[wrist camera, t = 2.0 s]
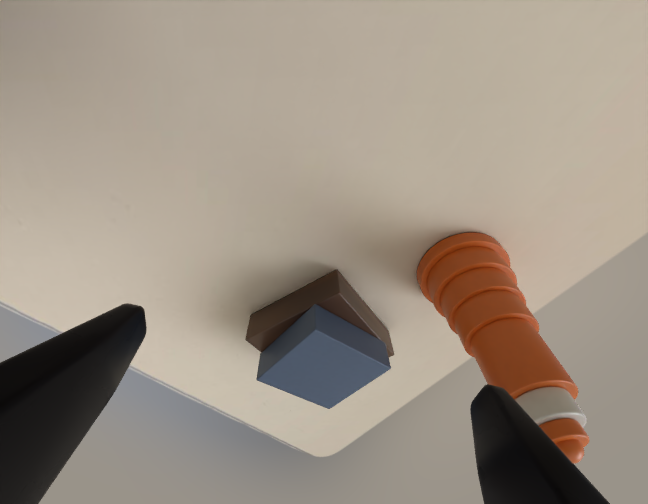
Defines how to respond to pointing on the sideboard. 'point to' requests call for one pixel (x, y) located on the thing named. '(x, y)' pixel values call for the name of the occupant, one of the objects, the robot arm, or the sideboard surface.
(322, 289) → the base block
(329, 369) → the top block
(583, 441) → the cone
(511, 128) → the sideboard surface
